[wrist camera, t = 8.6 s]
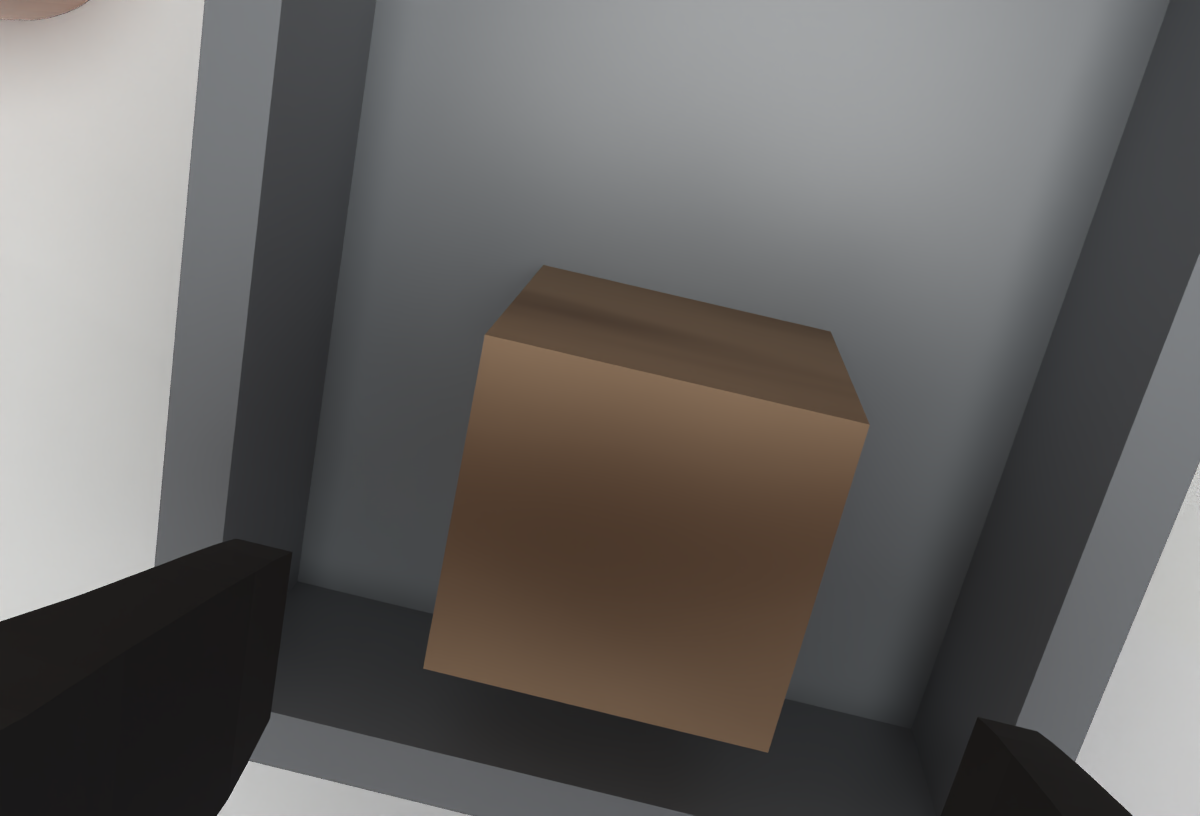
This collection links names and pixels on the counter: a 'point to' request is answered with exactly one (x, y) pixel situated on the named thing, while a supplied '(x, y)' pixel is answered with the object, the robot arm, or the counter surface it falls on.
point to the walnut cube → (645, 505)
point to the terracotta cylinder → (36, 8)
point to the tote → (717, 276)
